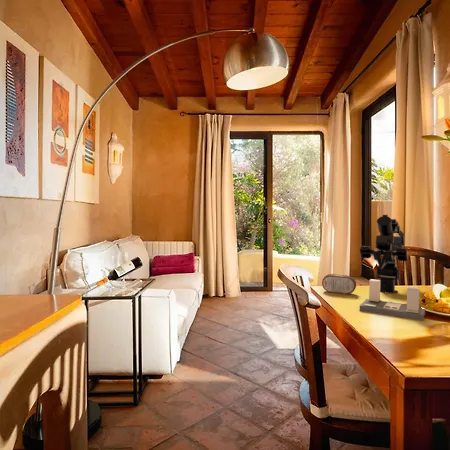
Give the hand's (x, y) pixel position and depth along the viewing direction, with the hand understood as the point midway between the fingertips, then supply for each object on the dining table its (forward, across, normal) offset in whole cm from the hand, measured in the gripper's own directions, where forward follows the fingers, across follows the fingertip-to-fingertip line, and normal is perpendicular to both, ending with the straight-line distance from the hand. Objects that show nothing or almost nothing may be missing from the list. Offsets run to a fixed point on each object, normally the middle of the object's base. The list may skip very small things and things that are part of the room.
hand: (380, 268), depth 147 cm
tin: (+7, -18, +12) cm, 23 cm away
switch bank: (+20, +7, -1) cm, 21 cm away
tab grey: (+20, +14, -5) cm, 25 cm away
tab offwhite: (+16, 0, 0) cm, 16 cm away
